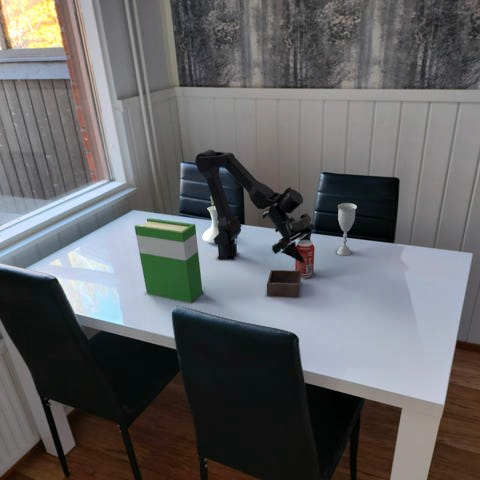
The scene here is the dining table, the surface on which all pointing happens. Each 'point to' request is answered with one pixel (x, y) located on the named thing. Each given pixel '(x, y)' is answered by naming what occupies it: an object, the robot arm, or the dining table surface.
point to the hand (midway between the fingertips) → (308, 258)
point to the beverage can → (305, 258)
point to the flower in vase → (213, 230)
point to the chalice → (346, 223)
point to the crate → (284, 289)
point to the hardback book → (170, 259)
